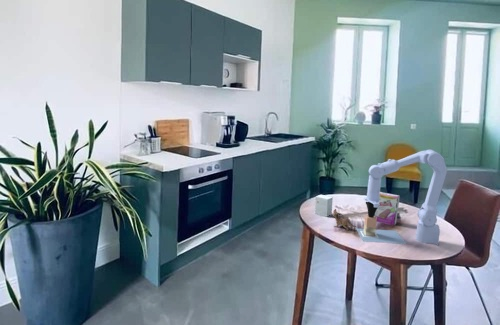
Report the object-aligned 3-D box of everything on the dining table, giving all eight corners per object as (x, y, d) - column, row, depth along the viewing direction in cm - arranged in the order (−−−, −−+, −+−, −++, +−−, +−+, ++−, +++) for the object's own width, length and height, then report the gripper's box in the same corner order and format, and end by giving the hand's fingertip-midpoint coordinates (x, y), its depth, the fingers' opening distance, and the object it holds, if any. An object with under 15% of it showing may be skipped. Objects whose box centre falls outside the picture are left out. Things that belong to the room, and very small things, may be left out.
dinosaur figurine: (327, 226, 188) (328, 210, 186) (332, 224, 192) (334, 207, 190) (351, 234, 179) (353, 216, 177) (356, 231, 183) (358, 213, 182)
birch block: (372, 232, 180) (373, 224, 179) (374, 236, 176) (375, 227, 175) (363, 232, 180) (364, 223, 179) (365, 235, 176) (366, 227, 175)
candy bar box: (372, 222, 197) (376, 193, 193) (375, 219, 201) (378, 191, 197) (394, 227, 191) (398, 197, 187) (396, 224, 195) (400, 195, 192)
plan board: (395, 232, 184) (395, 230, 184) (406, 245, 168) (406, 243, 168) (355, 229, 185) (355, 228, 185) (362, 242, 170) (362, 241, 169)
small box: (331, 215, 206) (333, 197, 204) (326, 217, 202) (328, 199, 200) (319, 211, 211) (320, 194, 209) (314, 213, 207) (315, 196, 205)
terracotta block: (373, 224, 179) (374, 215, 178) (376, 227, 175) (376, 218, 174) (364, 223, 179) (365, 215, 178) (366, 227, 175) (367, 218, 174)
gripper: (361, 185, 181) (359, 211, 183) (369, 194, 166) (366, 221, 169) (376, 186, 180) (373, 212, 183) (384, 194, 166) (381, 222, 169)
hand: (370, 217), depth 176 cm, fingers closed, pressing on terracotta block
